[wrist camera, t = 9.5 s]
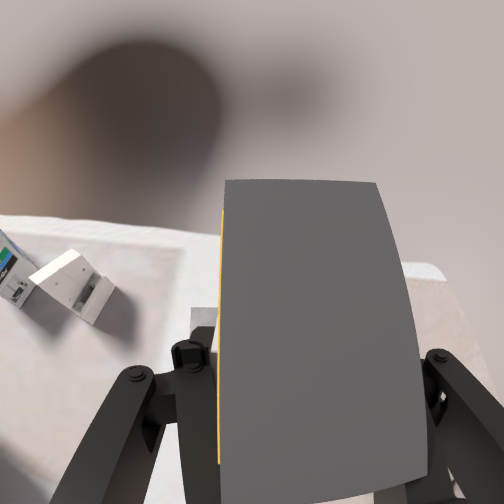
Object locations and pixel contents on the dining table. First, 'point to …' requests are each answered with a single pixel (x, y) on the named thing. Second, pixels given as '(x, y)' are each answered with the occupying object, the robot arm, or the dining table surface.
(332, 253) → the grey block
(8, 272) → the light bulb box
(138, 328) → the dining table surface
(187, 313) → the dining table surface
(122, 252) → the dining table surface
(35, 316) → the dining table surface
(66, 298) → the white wedge bracket
